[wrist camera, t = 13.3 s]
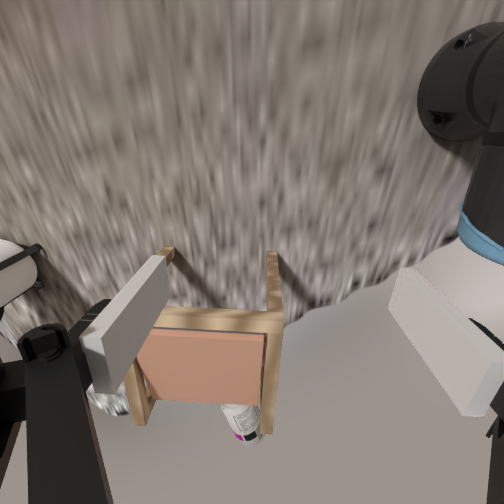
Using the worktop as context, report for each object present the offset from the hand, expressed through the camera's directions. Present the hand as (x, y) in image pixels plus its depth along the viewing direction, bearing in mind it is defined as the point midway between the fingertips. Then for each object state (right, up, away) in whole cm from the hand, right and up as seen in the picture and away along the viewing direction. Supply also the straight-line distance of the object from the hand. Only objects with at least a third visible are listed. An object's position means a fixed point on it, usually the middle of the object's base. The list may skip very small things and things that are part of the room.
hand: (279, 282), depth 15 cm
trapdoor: (-9, -15, +27) cm, 33 cm away
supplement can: (-1, -47, +57) cm, 74 cm away
